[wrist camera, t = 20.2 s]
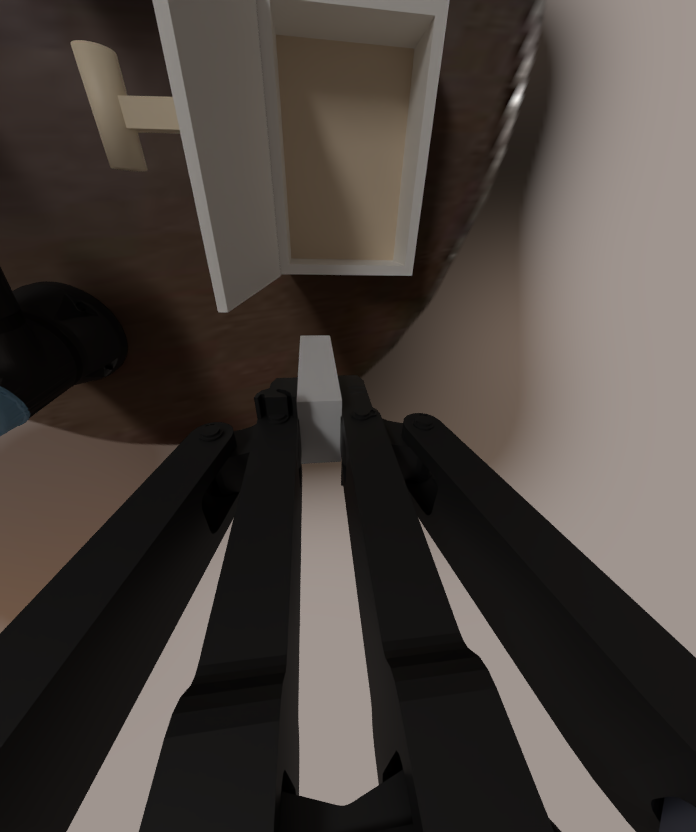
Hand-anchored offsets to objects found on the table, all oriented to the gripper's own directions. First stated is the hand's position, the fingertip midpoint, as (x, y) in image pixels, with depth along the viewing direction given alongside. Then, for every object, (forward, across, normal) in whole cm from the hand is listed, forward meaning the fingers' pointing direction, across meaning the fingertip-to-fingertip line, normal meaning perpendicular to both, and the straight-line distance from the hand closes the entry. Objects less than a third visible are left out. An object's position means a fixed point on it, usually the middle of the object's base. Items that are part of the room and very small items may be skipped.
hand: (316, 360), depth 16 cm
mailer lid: (+20, -5, +12) cm, 24 cm away
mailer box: (+36, +5, +12) cm, 39 cm away
